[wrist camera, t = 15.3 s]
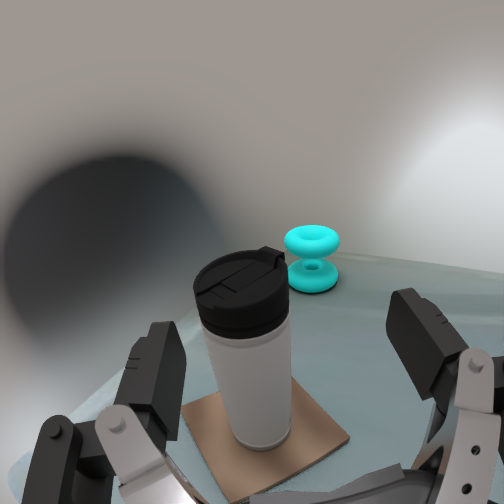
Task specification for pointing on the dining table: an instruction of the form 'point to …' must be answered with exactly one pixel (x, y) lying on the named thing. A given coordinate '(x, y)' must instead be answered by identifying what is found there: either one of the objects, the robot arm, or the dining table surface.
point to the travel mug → (249, 342)
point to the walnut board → (261, 462)
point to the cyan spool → (312, 258)
